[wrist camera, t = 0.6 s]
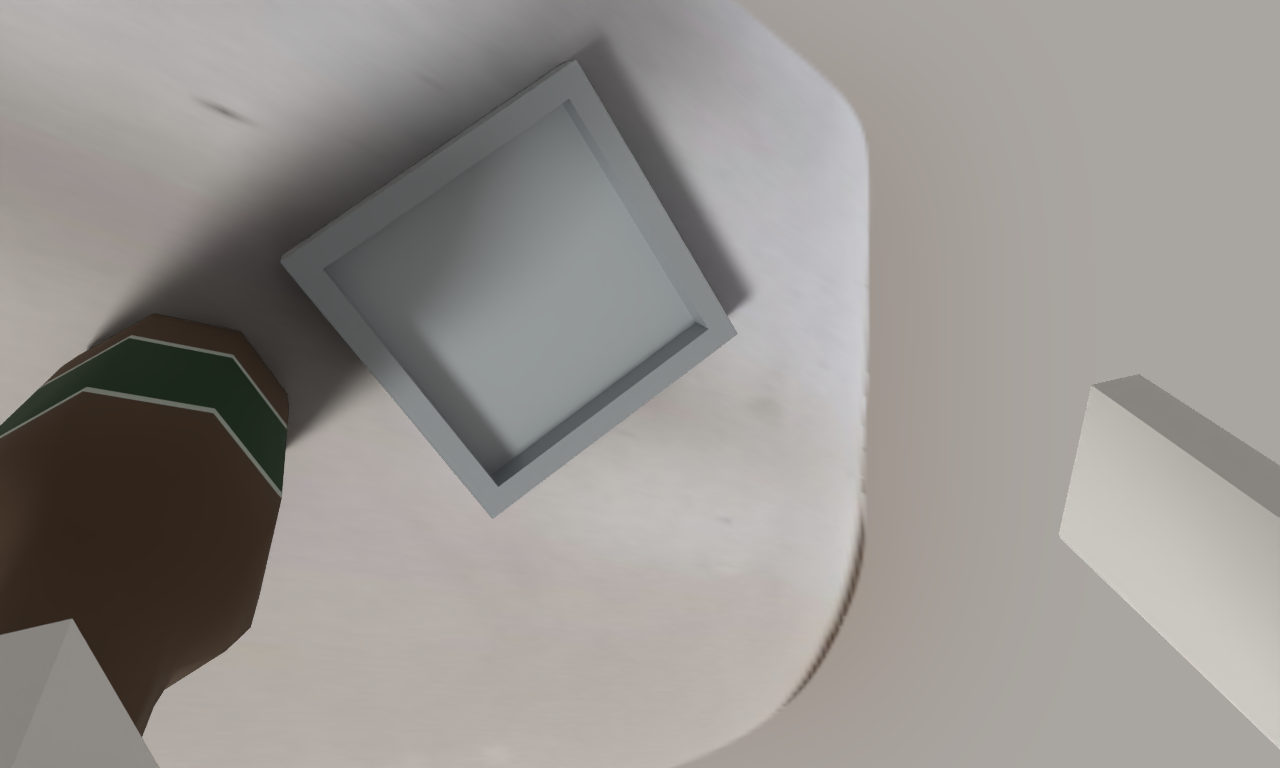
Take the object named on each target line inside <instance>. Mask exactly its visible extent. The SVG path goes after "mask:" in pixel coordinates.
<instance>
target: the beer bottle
mask: <svg viewBox="0 0 1280 768" xmlns="http://www.w3.org/2000/svg"><path fill="white" fill-rule="evenodd" d="M288 412H289V403H288V396H287V393H286V392H285V390H284V389H283V388H282V386H281V385H280V384H279V382H278V381H277V380H276V378H275V377H274V376H273V374H272V373H271V371H270V370H269V369H268V367H267V366H266V365H265V363H264V362H263V361H262V359H261V358H260V357H259V355H258V354H257V353H256V351H255V350H254V349H253V347H252V346H251V345H250V343H249V342H248V341H247V339H246V338H245V337H244V335H243V334H242V333H241V331H237V330H232V329H227V328H222V327H217V326H212V325H207V324H202V323H197V322H193V321H188V320H183V319H178V318H173V317H168V316H163V315H158V314H152V315H150V316H148V317H146V318H145V319H143V320H141V321H139V322H137V323H136V324H134V325H132V326H130V327H128V328H127V329H125V330H123V331H121V332H120V333H118V334H116V335H114V336H112V337H111V338H109V339H107V340H105V341H104V342H102V343H100V344H98V345H96V346H95V347H93V348H91V349H89V350H87V351H86V352H84V353H82V354H80V355H79V356H77V357H75V358H74V359H72V360H71V361H70V362H68V363H67V364H65V365H64V366H62V367H61V368H60V369H59V370H58V371H57V372H56V373H55V374H54V375H53V376H52V377H51V378H50V379H49V380H48V381H46V382H45V383H44V384H43V385H42V386H41V387H40V388H39V389H38V390H37V391H36V392H35V393H34V394H33V395H32V396H31V397H30V398H29V399H28V400H27V401H26V402H25V403H24V404H23V405H21V406H20V407H19V408H18V409H17V410H16V411H15V412H14V413H13V414H12V415H11V416H10V417H9V418H8V419H7V420H6V421H5V422H4V423H3V424H2V425H1V426H0V635H3V634H7V633H11V632H16V631H20V630H24V629H29V628H33V627H38V626H42V625H46V624H51V623H55V622H59V621H64V620H68V619H73V620H74V622H75V624H76V626H77V627H78V629H79V631H80V632H81V634H82V636H83V638H84V639H85V641H86V643H87V644H88V646H89V648H90V650H91V651H92V653H93V655H94V656H95V658H96V660H97V662H98V663H99V665H100V667H101V668H102V670H103V672H104V674H105V675H106V677H107V679H108V680H109V682H110V684H111V685H112V687H113V689H114V691H115V692H116V694H117V696H118V697H119V699H120V701H121V703H122V704H123V706H124V708H125V709H126V711H127V713H128V715H129V716H130V718H131V720H132V721H133V723H134V725H135V727H136V728H137V730H138V732H139V733H140V735H141V737H142V736H143V733H144V731H145V728H146V725H147V723H148V720H149V718H150V715H151V712H152V710H153V707H154V705H155V704H156V702H157V701H158V699H159V697H160V696H161V694H162V693H163V691H164V690H165V689H166V688H168V687H170V686H171V685H173V684H174V683H176V682H177V681H179V680H181V679H182V678H184V677H185V676H187V675H188V674H190V673H192V672H193V671H195V670H196V669H198V668H199V667H201V666H203V665H204V664H206V663H207V662H209V661H211V660H212V659H214V658H215V657H217V656H218V655H220V654H222V653H223V652H225V651H226V650H227V649H228V648H229V647H230V646H231V645H232V644H234V643H235V642H236V641H237V640H238V639H239V638H240V637H241V636H242V635H243V634H244V633H245V632H246V631H247V630H248V629H249V628H250V627H251V624H252V620H253V617H254V613H255V610H256V606H257V602H258V599H259V595H260V591H261V586H262V582H263V577H264V573H265V569H266V564H267V560H268V556H269V551H270V547H271V542H272V538H273V534H274V529H275V525H276V521H277V516H278V512H279V508H280V503H281V499H282V487H283V474H284V462H285V449H286V437H287V425H288Z"/></svg>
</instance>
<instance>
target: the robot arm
mask: <svg viewBox="0 0 1280 768" xmlns="http://www.w3.org/2000/svg"><path fill="white" fill-rule="evenodd" d="M1059 537H1060V538H1061V539H1062V540H1063V541H1064V542H1065V543H1066V544H1067V545H1068V546H1069V547H1070V548H1071V549H1072V550H1073V551H1074V552H1075V553H1076V554H1077V555H1078V556H1080V557H1081V558H1082V559H1083V560H1084V561H1085V562H1086V563H1087V564H1088V565H1089V566H1090V567H1091V568H1092V569H1093V570H1094V571H1095V572H1096V573H1097V574H1098V575H1099V576H1100V577H1101V578H1103V580H1104V581H1105V582H1106V583H1108V584H1109V585H1110V586H1111V587H1112V588H1113V589H1114V590H1115V591H1116V592H1117V593H1118V594H1119V595H1120V596H1121V597H1122V598H1123V599H1124V600H1125V601H1126V602H1127V603H1128V604H1129V605H1130V606H1131V607H1132V608H1133V609H1135V610H1136V611H1137V612H1138V613H1139V614H1140V615H1141V616H1142V617H1143V618H1144V619H1145V620H1146V621H1147V622H1148V623H1149V624H1150V625H1151V626H1152V627H1153V628H1154V629H1155V630H1156V631H1157V632H1158V633H1159V634H1161V635H1162V636H1163V637H1164V638H1165V639H1166V640H1167V641H1168V642H1169V643H1170V644H1171V645H1172V646H1173V647H1174V648H1175V649H1176V650H1177V651H1178V652H1179V653H1180V654H1182V656H1183V657H1184V658H1185V659H1186V660H1187V661H1189V662H1190V663H1191V664H1192V665H1193V666H1194V667H1195V668H1196V669H1197V670H1198V671H1199V672H1200V673H1201V674H1202V675H1203V676H1204V677H1205V678H1206V679H1207V680H1208V681H1209V682H1210V683H1211V684H1213V685H1214V686H1215V687H1216V688H1217V689H1218V690H1219V691H1220V692H1221V693H1222V694H1223V695H1224V696H1225V697H1226V698H1227V699H1228V700H1229V701H1230V702H1231V703H1232V704H1233V705H1234V706H1235V707H1236V708H1237V709H1238V710H1239V711H1241V712H1242V713H1243V714H1244V715H1245V716H1246V717H1247V718H1248V719H1249V720H1250V721H1251V722H1252V723H1253V724H1254V725H1255V726H1256V727H1257V728H1258V729H1259V730H1260V731H1261V732H1262V733H1263V734H1264V735H1265V736H1266V737H1268V738H1269V739H1270V740H1271V741H1272V742H1273V743H1274V744H1275V745H1276V746H1277V747H1278V748H1279V749H1280V466H1279V465H1278V464H1276V463H1275V462H1273V461H1272V460H1270V459H1269V458H1267V457H1266V456H1264V455H1262V454H1261V453H1259V452H1258V451H1256V450H1255V449H1253V448H1252V447H1250V446H1249V445H1247V444H1246V443H1244V442H1243V441H1241V440H1239V439H1238V438H1236V437H1235V436H1233V435H1232V434H1230V433H1229V432H1227V431H1226V430H1224V429H1223V428H1221V427H1219V426H1218V425H1216V424H1215V423H1213V422H1212V421H1210V420H1209V419H1207V418H1206V417H1204V416H1203V415H1201V414H1199V413H1198V412H1196V411H1195V410H1193V409H1192V408H1190V407H1189V406H1187V405H1186V404H1184V403H1182V402H1181V401H1179V400H1178V399H1176V398H1175V397H1173V396H1172V395H1170V394H1169V393H1167V392H1166V391H1164V390H1163V389H1161V388H1159V387H1158V386H1156V385H1155V384H1153V383H1152V382H1150V381H1149V380H1147V379H1146V378H1144V377H1142V376H1141V375H1139V374H1138V375H1133V376H1129V377H1125V378H1120V379H1116V380H1111V381H1107V382H1103V383H1098V384H1094V385H1091V389H1090V394H1089V398H1088V403H1087V408H1086V412H1085V417H1084V421H1083V426H1082V431H1081V435H1080V440H1079V444H1078V449H1077V454H1076V458H1075V463H1074V467H1073V472H1072V477H1071V481H1070V486H1069V490H1068V495H1067V500H1066V505H1065V509H1064V514H1063V518H1062V523H1061V527H1060V532H1059ZM0 768H159V766H158V764H157V763H156V761H155V759H154V757H153V756H152V754H151V752H150V751H149V749H148V747H147V745H146V744H145V742H144V740H143V739H142V737H141V735H140V733H139V732H138V730H137V728H136V727H135V725H134V723H133V721H132V720H131V718H130V716H129V715H128V713H127V711H126V709H125V708H124V706H123V704H122V703H121V701H120V699H119V697H118V696H117V694H116V692H115V691H114V689H113V687H112V685H111V684H110V682H109V680H108V679H107V677H106V675H105V674H104V672H103V670H102V668H101V667H100V665H99V663H98V662H97V660H96V658H95V656H94V655H93V653H92V651H91V650H90V648H89V646H88V644H87V643H86V641H85V639H84V638H83V636H82V634H81V632H80V631H79V629H78V627H77V626H76V624H75V622H74V620H73V619H68V620H64V621H59V622H55V623H51V624H46V625H42V626H38V627H33V628H29V629H24V630H20V631H16V632H11V633H7V634H3V635H0Z"/></svg>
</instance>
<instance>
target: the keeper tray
mask: <svg viewBox="0 0 1280 768" xmlns="http://www.w3.org/2000/svg"><path fill="white" fill-rule="evenodd" d="M280 263H281V264H282V265H283V267H284V268H285V269H286V270H287V271H288V273H289V274H290V275H291V276H292V278H293V279H294V280H295V281H296V282H297V284H298V285H299V286H300V287H301V288H302V290H303V291H304V292H305V293H306V294H307V296H308V297H309V298H310V299H311V300H312V302H313V303H314V304H315V305H316V306H317V308H318V309H319V310H320V311H321V313H322V314H323V315H324V316H325V317H326V319H327V320H328V321H329V322H330V323H331V325H332V326H333V327H334V328H335V329H336V331H337V332H338V333H339V334H340V335H341V337H342V338H343V339H344V340H345V342H346V343H347V344H348V345H349V346H350V348H351V349H352V350H353V351H354V352H355V354H356V355H357V356H358V357H359V358H360V360H361V361H362V362H363V363H364V364H365V366H366V367H367V368H368V369H369V370H370V372H371V373H372V374H373V375H374V377H375V378H376V379H377V380H378V381H379V383H380V384H381V385H382V386H383V387H384V389H385V390H386V391H387V392H388V393H389V395H390V396H391V397H392V398H393V399H394V401H395V402H396V403H397V404H398V406H399V407H400V408H401V409H402V410H403V412H404V413H405V414H406V415H407V416H408V418H409V419H410V420H411V421H412V422H413V424H414V425H415V426H416V427H417V428H418V430H419V431H420V432H421V433H422V435H423V436H424V437H425V438H426V439H427V441H428V442H429V443H430V444H431V445H432V447H433V448H434V449H435V450H436V451H437V453H438V454H439V455H440V456H441V457H442V459H443V460H444V461H445V462H446V463H447V465H448V466H449V467H450V468H451V470H452V471H453V472H454V473H455V474H456V476H457V477H458V478H459V479H460V480H461V482H462V483H463V484H464V485H465V486H466V488H467V489H468V490H469V491H470V492H471V494H472V495H473V496H474V497H475V499H476V500H477V501H478V502H479V503H480V505H481V506H482V507H483V508H484V509H485V511H486V512H487V513H488V514H489V515H490V517H491V518H492V519H493V518H494V517H496V516H497V515H498V514H500V513H501V512H502V511H504V510H505V509H506V508H508V507H509V506H510V505H512V504H513V503H514V502H516V501H517V500H518V499H520V498H521V497H522V496H523V495H525V494H526V493H527V492H529V491H530V490H531V489H533V488H534V487H535V486H537V485H538V484H539V483H541V482H542V481H543V480H545V479H546V478H547V477H549V476H550V475H551V474H553V473H554V472H555V471H557V470H558V469H559V468H561V467H562V466H563V465H565V464H566V463H567V462H569V461H570V460H571V459H573V458H574V457H575V456H577V455H578V454H579V453H580V452H582V451H583V450H584V449H586V448H587V447H588V446H590V445H591V444H592V443H594V442H595V441H596V440H598V439H599V438H600V437H602V436H603V435H604V434H606V433H607V432H608V431H610V430H611V429H612V428H614V427H615V426H616V425H618V424H619V423H620V422H622V421H623V420H624V419H626V418H627V417H628V416H630V415H631V414H632V413H633V412H635V411H636V410H637V409H639V408H640V407H641V406H643V405H644V404H645V403H647V402H648V401H649V400H651V399H652V398H653V397H655V396H656V395H657V394H659V393H660V392H661V391H663V390H664V389H665V388H667V387H668V386H669V385H671V384H672V383H673V382H675V381H676V380H677V379H679V378H680V377H681V376H683V375H684V374H685V373H686V372H688V371H689V370H690V369H692V368H693V367H694V366H696V365H697V364H698V363H700V362H701V361H702V360H704V359H705V358H706V357H708V356H709V355H710V354H712V353H713V352H714V351H716V350H717V349H718V348H720V347H721V346H722V345H724V344H725V343H726V342H728V341H729V340H730V339H732V338H733V337H734V336H736V335H737V334H738V333H737V332H736V330H735V328H734V326H733V325H732V323H731V321H730V320H729V318H728V316H727V315H726V313H725V311H724V309H723V308H722V306H721V304H720V303H719V301H718V299H717V298H716V296H715V294H714V292H713V291H712V289H711V287H710V286H709V284H708V282H707V281H706V279H705V277H704V275H703V274H702V272H701V270H700V269H699V267H698V265H697V264H696V262H695V260H694V258H693V257H692V255H691V253H690V252H689V250H688V248H687V247H686V245H685V243H684V241H683V240H682V238H681V236H680V235H679V233H678V231H677V230H676V228H675V226H674V224H673V223H672V221H671V219H670V218H669V216H668V214H667V213H666V211H665V209H664V207H663V206H662V204H661V202H660V201H659V199H658V197H657V196H656V194H655V192H654V190H653V189H652V187H651V185H650V184H649V182H648V180H647V179H646V177H645V175H644V173H643V172H642V170H641V168H640V167H639V165H638V163H637V162H636V160H635V158H634V156H633V155H632V153H631V151H630V150H629V148H628V146H627V145H626V143H625V141H624V139H623V138H622V136H621V134H620V133H619V131H618V129H617V127H616V126H615V124H614V122H613V121H612V119H611V117H610V116H609V114H608V112H607V110H606V109H605V107H604V105H603V104H602V102H601V100H600V99H599V97H598V95H597V93H596V92H595V90H594V88H593V87H592V85H591V83H590V82H589V80H588V78H587V76H586V75H585V73H584V71H583V70H582V68H581V66H580V65H579V63H578V61H577V59H576V60H572V61H568V62H564V63H562V64H560V65H559V66H557V67H556V68H554V69H553V70H551V71H550V72H548V73H547V74H546V75H544V76H543V77H541V78H540V79H538V80H537V81H535V82H534V83H532V84H531V85H530V86H528V87H527V88H525V89H524V90H522V91H521V92H519V93H518V94H516V95H515V96H513V97H512V98H511V99H509V100H508V101H506V102H505V103H503V104H502V105H500V106H499V107H497V108H496V109H494V110H493V111H492V112H490V113H489V114H487V115H486V116H484V117H483V118H481V119H480V120H478V121H477V122H476V123H474V124H473V125H471V126H470V127H468V128H467V129H465V130H464V131H462V132H461V133H459V134H458V135H457V136H455V137H454V138H452V139H451V140H449V141H448V142H446V143H445V144H443V145H442V146H440V147H439V148H438V149H436V150H435V151H433V152H432V153H430V154H429V155H427V156H426V157H424V158H423V159H421V160H420V161H419V162H417V163H416V164H414V165H413V166H411V167H410V168H408V169H407V170H405V171H404V172H403V173H401V174H400V175H398V176H397V177H395V178H394V179H392V180H391V181H389V182H388V183H386V184H385V185H384V186H382V187H381V188H379V189H378V190H376V191H375V192H373V193H372V194H370V195H369V196H367V197H366V198H365V199H363V200H362V201H360V202H359V203H357V204H356V205H354V206H353V207H351V208H350V209H349V210H347V211H346V212H344V213H343V214H341V215H340V216H338V217H337V218H335V219H334V220H332V221H331V222H330V223H328V224H327V225H325V226H324V227H322V228H321V229H319V230H318V231H316V232H315V233H313V234H312V235H311V236H309V237H308V238H306V239H305V240H303V241H302V242H300V243H299V244H297V245H296V246H294V247H293V248H292V249H290V250H289V251H287V252H286V253H284V254H283V255H282V257H281V261H280Z"/></svg>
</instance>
